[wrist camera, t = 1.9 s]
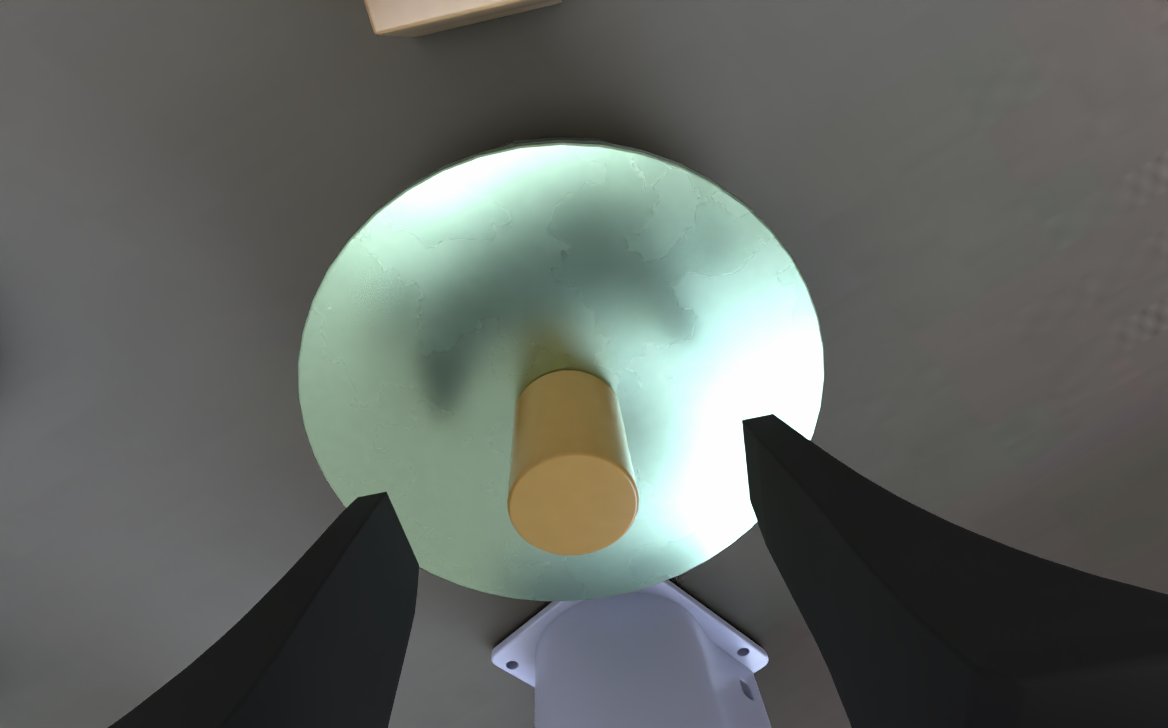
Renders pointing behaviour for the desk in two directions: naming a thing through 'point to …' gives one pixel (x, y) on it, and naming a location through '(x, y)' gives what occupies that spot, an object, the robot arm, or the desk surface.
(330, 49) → the desk surface
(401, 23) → the block
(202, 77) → the desk surface
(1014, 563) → the robot arm
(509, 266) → the tin lid
